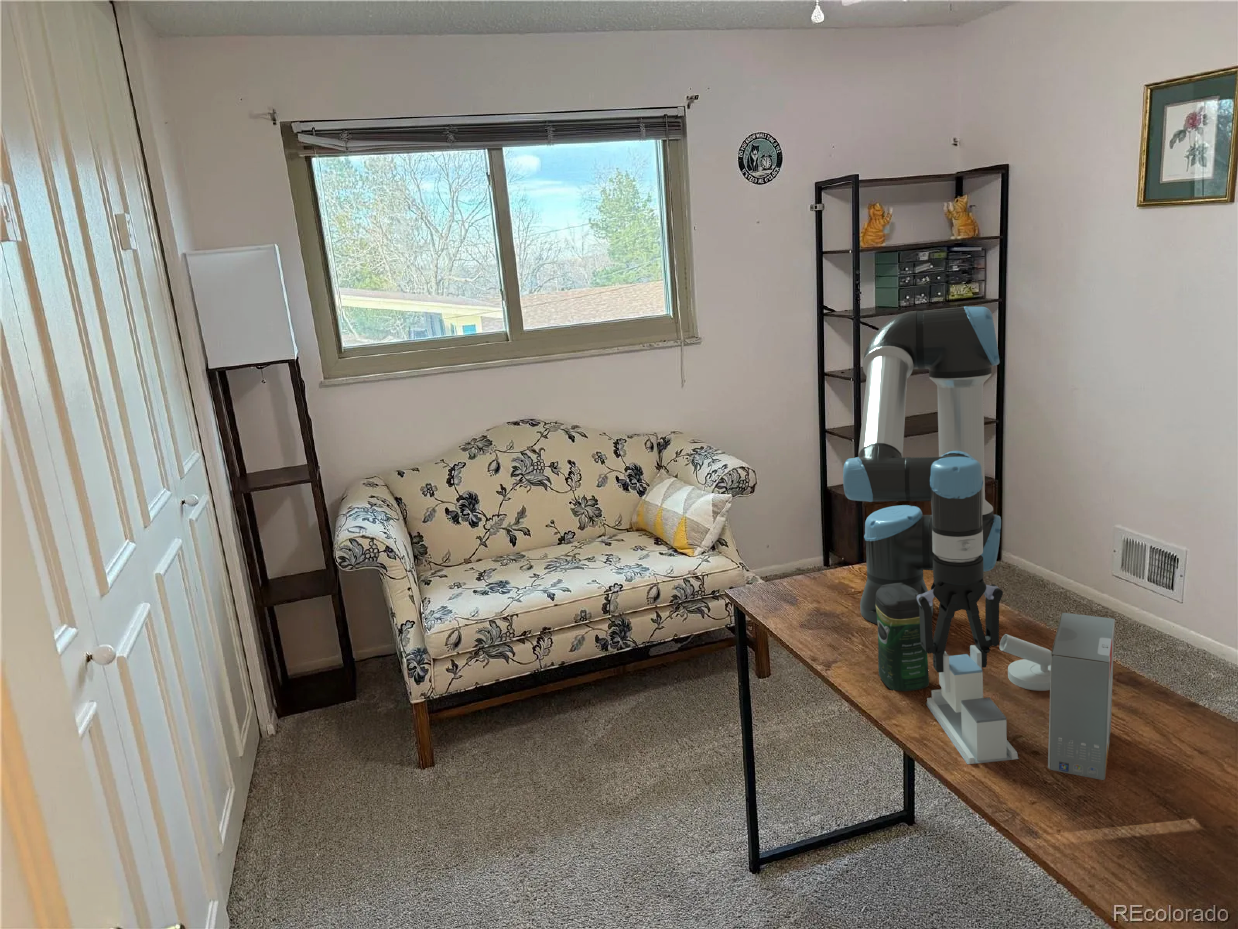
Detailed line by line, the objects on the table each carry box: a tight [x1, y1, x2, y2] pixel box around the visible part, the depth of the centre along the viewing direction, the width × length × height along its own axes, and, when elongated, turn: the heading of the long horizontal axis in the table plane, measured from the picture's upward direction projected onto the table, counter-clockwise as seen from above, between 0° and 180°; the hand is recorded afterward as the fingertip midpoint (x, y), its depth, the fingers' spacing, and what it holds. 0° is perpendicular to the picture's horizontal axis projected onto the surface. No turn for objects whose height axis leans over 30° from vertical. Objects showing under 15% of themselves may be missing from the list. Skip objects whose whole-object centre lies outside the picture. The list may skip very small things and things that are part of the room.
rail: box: [925, 688, 1020, 765], centre depth 138 cm, size 18×8×3 cm, turn 0°
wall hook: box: [999, 633, 1052, 692], centre depth 150 cm, size 9×10×10 cm
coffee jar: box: [875, 583, 930, 692], centre depth 155 cm, size 10×8×19 cm
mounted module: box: [961, 697, 1008, 761], centre depth 132 cm, size 6×4×7 cm
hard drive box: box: [1047, 612, 1116, 781], centre depth 129 cm, size 16×8×20 cm, turn 148°
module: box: [940, 653, 984, 713], centre depth 140 cm, size 6×4×7 cm
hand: (960, 686), depth 140 cm, fingers closed on module, 4 cm apart
